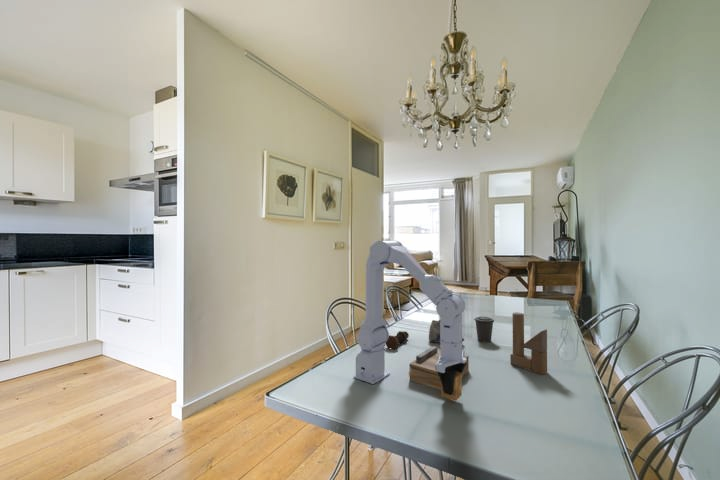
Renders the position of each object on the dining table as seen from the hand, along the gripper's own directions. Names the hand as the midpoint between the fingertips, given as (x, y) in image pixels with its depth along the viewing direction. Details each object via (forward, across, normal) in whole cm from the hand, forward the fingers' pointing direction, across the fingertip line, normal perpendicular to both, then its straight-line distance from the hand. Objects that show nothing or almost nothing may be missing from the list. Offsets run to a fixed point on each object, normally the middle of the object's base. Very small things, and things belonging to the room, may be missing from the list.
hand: (451, 390), depth 84 cm
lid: (+1, +13, +9) cm, 16 cm away
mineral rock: (+3, +44, +21) cm, 49 cm away
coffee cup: (+3, +58, +9) cm, 59 cm away
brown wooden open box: (+3, +13, +9) cm, 16 cm away
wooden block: (+3, +37, -12) cm, 39 cm away
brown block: (+1, 0, 0) cm, 1 cm away
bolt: (+3, +32, +36) cm, 48 cm away
